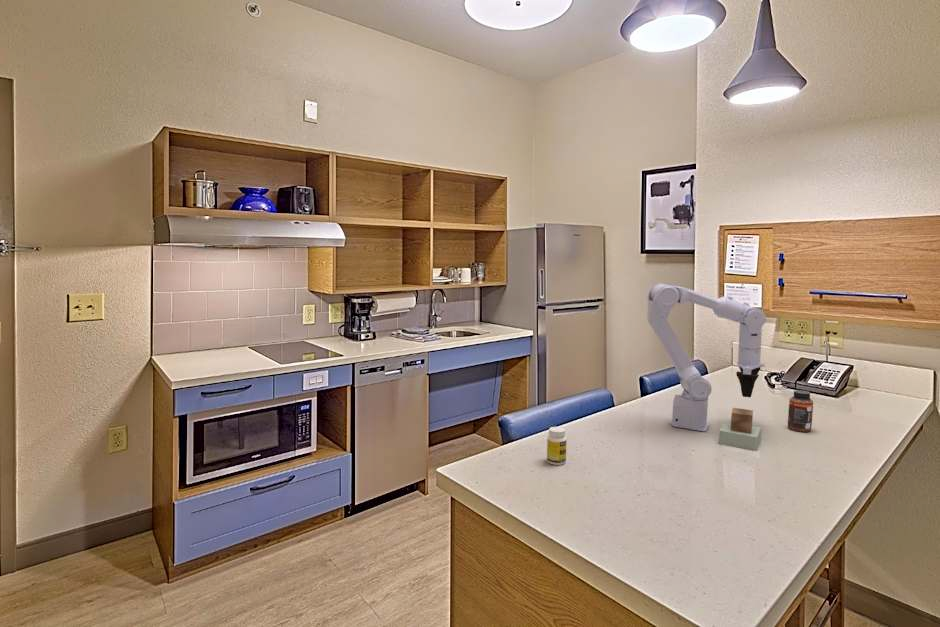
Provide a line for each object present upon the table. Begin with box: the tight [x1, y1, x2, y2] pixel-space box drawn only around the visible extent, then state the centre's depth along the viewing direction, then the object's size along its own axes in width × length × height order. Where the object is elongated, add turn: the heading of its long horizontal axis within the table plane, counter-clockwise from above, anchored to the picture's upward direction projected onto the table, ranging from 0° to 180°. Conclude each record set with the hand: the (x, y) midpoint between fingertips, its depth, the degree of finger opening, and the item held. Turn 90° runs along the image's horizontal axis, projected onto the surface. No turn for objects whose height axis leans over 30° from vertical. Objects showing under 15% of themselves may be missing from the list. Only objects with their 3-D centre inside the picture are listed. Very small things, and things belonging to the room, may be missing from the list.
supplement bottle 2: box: [787, 389, 814, 433], centre depth 154 cm, size 6×6×11 cm
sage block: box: [718, 421, 762, 452], centre depth 145 cm, size 9×9×4 cm
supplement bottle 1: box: [546, 426, 567, 466], centre depth 132 cm, size 5×5×8 cm
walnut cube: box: [730, 407, 754, 434], centre depth 144 cm, size 5×5×5 cm
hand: (747, 393), depth 155 cm, fingers open, 7 cm apart
